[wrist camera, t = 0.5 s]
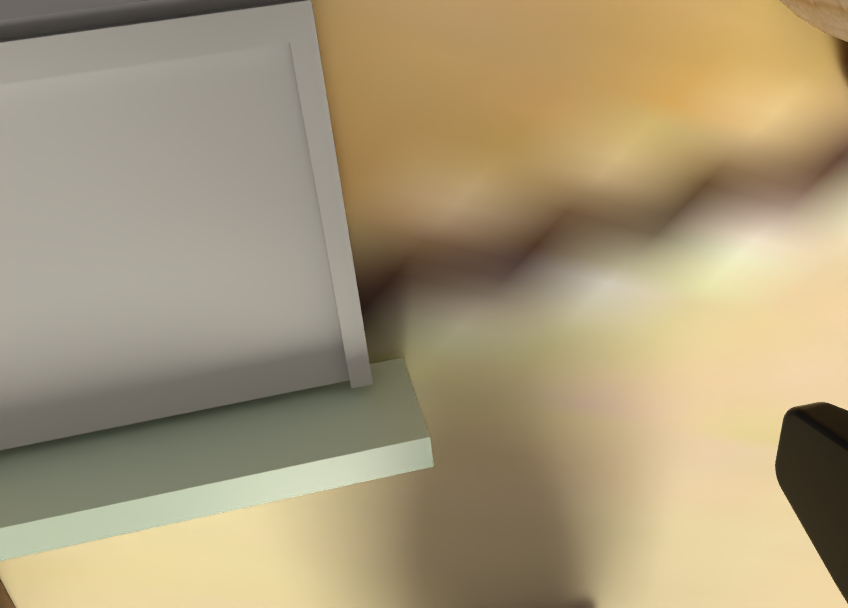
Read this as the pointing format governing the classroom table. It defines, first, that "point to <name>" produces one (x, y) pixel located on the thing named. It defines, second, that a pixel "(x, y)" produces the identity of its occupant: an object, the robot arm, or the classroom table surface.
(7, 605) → the brown wooden cube
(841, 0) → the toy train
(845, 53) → the classroom table surface
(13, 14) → the block
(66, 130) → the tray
